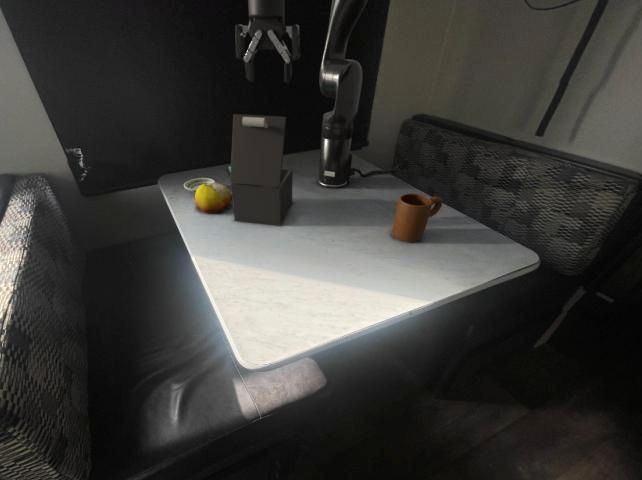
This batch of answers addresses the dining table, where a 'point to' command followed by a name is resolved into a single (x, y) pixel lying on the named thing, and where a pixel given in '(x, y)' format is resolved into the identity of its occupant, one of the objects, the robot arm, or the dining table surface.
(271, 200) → the dark gray cube box
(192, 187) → the saucer
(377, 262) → the dining table surface
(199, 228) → the dining table surface
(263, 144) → the lid
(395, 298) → the dining table surface
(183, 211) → the dining table surface
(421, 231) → the mug
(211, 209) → the fruit
